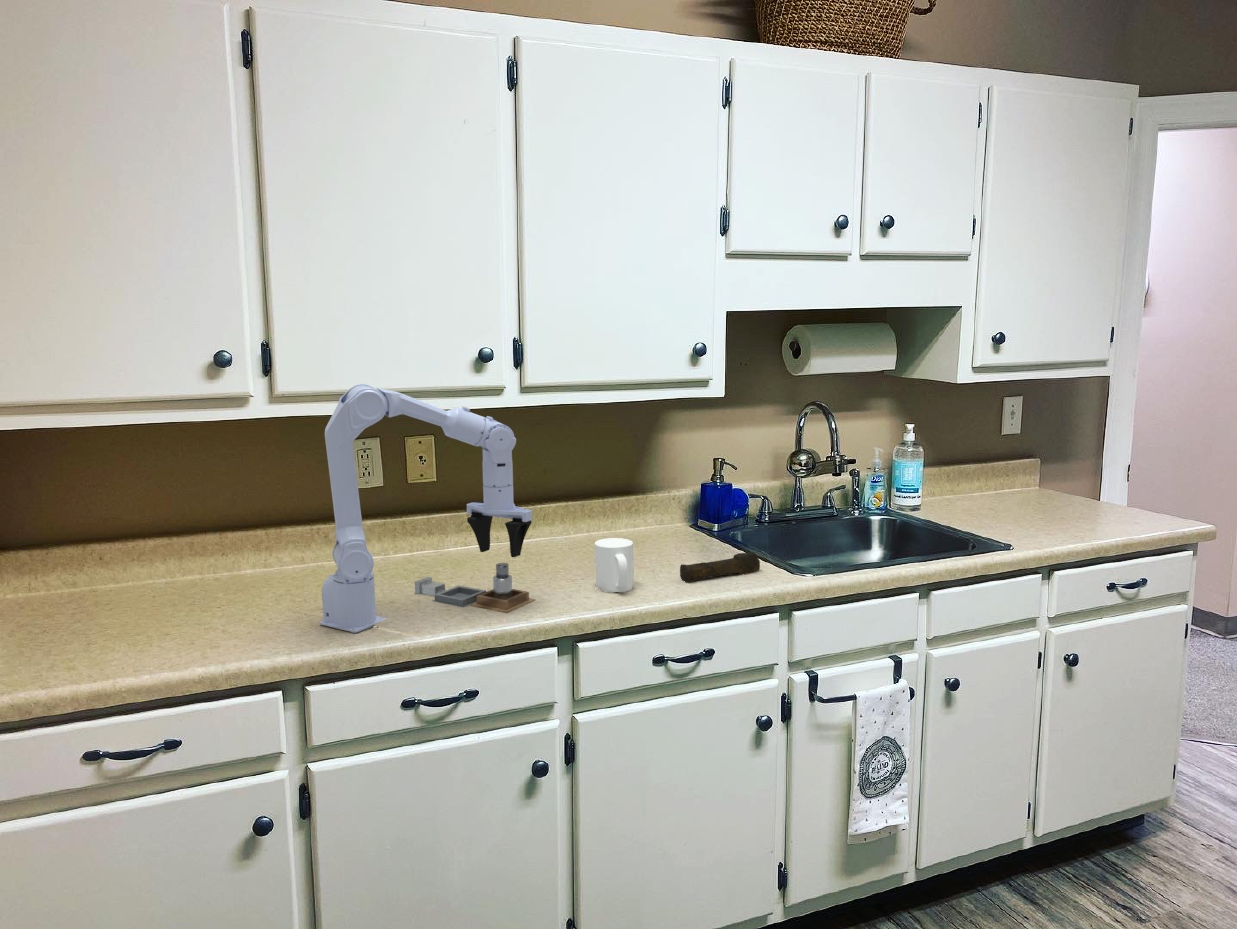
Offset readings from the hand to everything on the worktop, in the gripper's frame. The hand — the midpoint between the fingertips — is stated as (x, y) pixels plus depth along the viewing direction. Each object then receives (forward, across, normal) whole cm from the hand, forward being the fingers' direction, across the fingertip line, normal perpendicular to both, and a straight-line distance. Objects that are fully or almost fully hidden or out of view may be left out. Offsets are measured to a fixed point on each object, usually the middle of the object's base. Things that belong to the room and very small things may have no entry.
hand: (500, 553), depth 186 cm
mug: (+11, -13, -21) cm, 27 cm away
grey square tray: (+10, +8, +2) cm, 14 cm away
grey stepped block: (+10, +16, +2) cm, 19 cm away
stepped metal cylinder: (+10, 0, 0) cm, 10 cm away
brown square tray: (+10, -1, 0) cm, 10 cm away
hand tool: (+11, -28, -40) cm, 50 cm away
